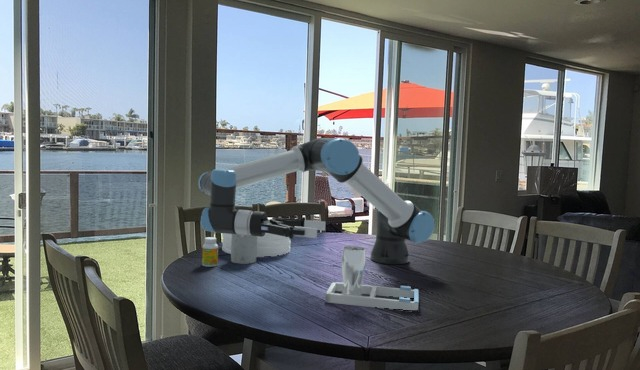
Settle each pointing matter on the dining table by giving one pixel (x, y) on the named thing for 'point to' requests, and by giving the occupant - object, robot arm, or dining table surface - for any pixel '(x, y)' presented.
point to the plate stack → (263, 244)
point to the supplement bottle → (210, 252)
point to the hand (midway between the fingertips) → (321, 229)
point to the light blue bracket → (416, 298)
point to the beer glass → (353, 269)
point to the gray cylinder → (243, 249)
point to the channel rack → (371, 297)
